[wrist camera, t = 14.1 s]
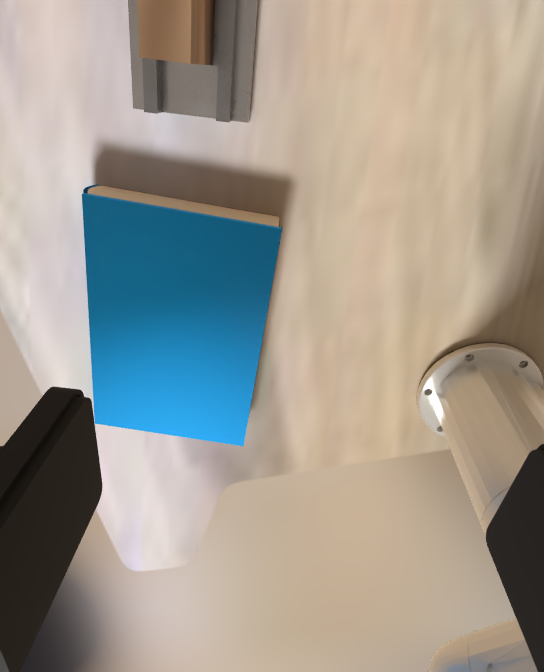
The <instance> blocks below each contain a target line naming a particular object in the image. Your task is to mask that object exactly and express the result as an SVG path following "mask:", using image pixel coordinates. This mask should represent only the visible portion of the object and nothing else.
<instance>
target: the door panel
mask: <svg viewBox="0 0 544 672" xmlns="http://www.w3.org/2000/svg"><path fill="white" fill-rule="evenodd" d="M137 8H138V35H139V57H141V58H149V59H157V60H165V61H172V62H180V63H188V64H200V65H213V49H214V21H215V0H137Z"/></svg>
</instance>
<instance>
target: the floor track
mask: <svg viewBox="0 0 544 672" xmlns="http://www.w3.org/2000/svg"><path fill="white" fill-rule="evenodd" d="M128 8H129V29H130V50H131V71H132V92H133V108H135V109H143V110H144V112H149V113H157V114H158V113H161V112H167V113H175V114H183V115H191V116H199V117H207V118H216V121H222V122H230V121H240V122H249V120H250V107H251V93H252V79H253V66H254V52H255V39H256V25H257V11H258V0H215V21H214V49H213V65H200V64H188V63H180V62H172V61H165V60H157V59H149V58H141V57H139V35H138V8H137V0H128Z"/></svg>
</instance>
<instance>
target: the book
mask: <svg viewBox="0 0 544 672" xmlns="http://www.w3.org/2000/svg"><path fill="white" fill-rule="evenodd" d="M83 192H84V193H83V194H82V203H83V220H84V238H85V256H86V273H87V291H88V309H89V326H90V344H91V362H92V379H93V397H94V415H95V423H96V424H102V425H109V426H115V427H122V428H128V429H135V430H141V431H148V432H155V433H161V434H168V435H174V436H181V437H187V438H194V439H200V440H207V441H213V442H220V443H226V444H233V445H239V446H243V445H244V439H245V434H246V428H247V422H248V417H249V411H250V406H251V400H252V395H253V389H254V383H255V378H256V372H257V367H258V361H259V355H260V350H261V344H262V339H263V333H264V327H265V322H266V316H267V311H268V305H269V300H270V294H271V288H272V283H273V277H274V272H275V266H276V260H277V255H278V249H279V244H280V238H281V232H282V227H279V218H280V217H277V216H271V215H265V214H260V213H254V212H248V211H243V210H237V209H231V208H226V207H220V206H214V205H209V204H203V203H197V202H192V201H186V200H181V199H175V198H169V197H164V196H158V195H152V194H147V193H141V192H135V191H130V190H124V189H118V188H113V187H107V186H98V185H93V186H89V187H86V188H85V189H84V191H83Z"/></svg>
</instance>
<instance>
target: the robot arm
mask: <svg viewBox="0 0 544 672" xmlns="http://www.w3.org/2000/svg"><path fill="white" fill-rule="evenodd" d="M543 385H544V384H543V378H542V374H541V372H540V370H539V368H538V366H537V365H536V364H535V363H534V361H533V360H532V359H531V358H530V357H529V356H528V355H526V354H525V353H524V352H522V351H520V350H519V349H517V348H515V347H511V346H508V345H505V344H497V343H481V344H475V345H470V346H466V347H464V348H461V349H458V350H455V351H453V352H452V353H450V354H448V355H446V356H444V357H443V358H442V359H440V360H439V361H437V362H436V363H435V364H434V365H433V366H432V367H431V368H430V369H429V370H428V371H427V373H426V374H425V376H424V377H423V379H422V381H421V383H420V385H419V388H418V393H417V405H418V409H419V412H420V415H421V417H422V419H423V421H424V422H425V424H426V425H427V426H428V427H429V428H430V429H431V430H432V431H434V432H435V433H437V434H439V435H441V436H443V437H445V438H446V439H447V442H448V444H449V447H450V449H451V452H452V454H453V457H454V459H455V461H456V464H457V466H458V469H459V471H460V474H461V476H462V479H463V481H464V484H465V486H466V489H467V491H468V493H469V496H470V498H471V501H472V504H473V506H474V508H475V511H476V513H477V516H478V518H479V521H480V523H481V526H482V528H483V531H484V534H485V536H486V542H487V546H488V548H489V551H490V553H491V556H492V558H493V561H494V563H495V566H496V568H497V571H498V573H499V576H500V578H501V581H502V583H503V586H504V588H505V591H506V593H507V596H508V598H509V601H510V603H511V606H512V608H513V611H514V613H515V616H516V618H513V619H509V620H506V621H504V622H500V623H498V624H494V625H492V626H488V627H485V628H483V629H480V630H476V631H473V632H471V633H469V634H466V635H463V636H460V637H458V638H456V639H453V640H451V641H449V642H447V643H445V644H444V645H443V646H442V647H440V648H439V649H438V650H437V651H436V653H435V654H434V656H433V658H432V660H431V662H430V665H429V670H428V672H544V391H543ZM101 492H102V478H101V470H100V463H99V455H98V447H97V440H96V432H95V424H94V417H93V409H92V402H91V399H90V398H86V397H84V394H83V392H82V391H81V390H78V389H70V388H61V387H51V388H50V389H48V390H47V392H46V393H45V394H44V395H43V397H42V398H41V399H40V401H39V402H38V403H37V404H36V406H35V407H34V408H33V409H32V411H31V412H30V413H29V415H28V416H27V417H26V418H25V420H24V421H23V422H22V423H21V425H20V426H19V427H18V429H17V430H16V431H15V432H14V434H13V435H12V436H11V437H10V439H9V440H8V441H7V442H6V444H5V445H4V446H0V672H19V671H20V670H21V668H22V666H23V664H24V662H25V660H26V658H27V656H28V654H29V651H30V649H31V647H32V645H33V643H34V641H35V639H36V636H37V634H38V632H39V630H40V628H41V626H42V623H43V621H44V619H45V617H46V615H47V613H48V610H49V608H50V606H51V604H52V602H53V600H54V597H55V595H56V593H57V591H58V589H59V587H60V585H61V582H62V580H63V578H64V576H65V574H66V572H67V569H68V567H69V565H70V563H71V561H72V559H73V556H74V554H75V552H76V550H77V548H78V545H79V544H80V541H81V539H82V537H83V535H84V533H85V530H86V528H87V526H88V524H89V522H90V520H91V517H92V515H93V513H94V511H95V509H96V507H97V505H98V502H99V500H100V497H101Z"/></svg>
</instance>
